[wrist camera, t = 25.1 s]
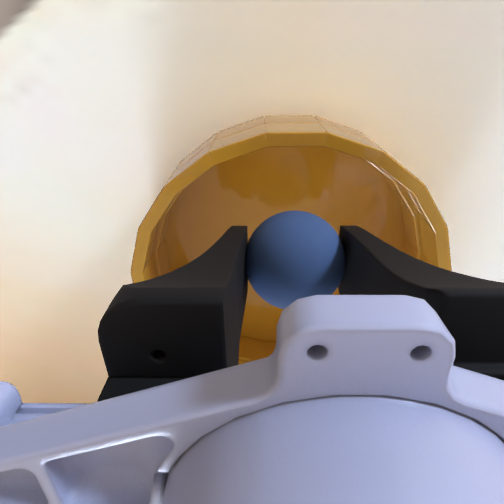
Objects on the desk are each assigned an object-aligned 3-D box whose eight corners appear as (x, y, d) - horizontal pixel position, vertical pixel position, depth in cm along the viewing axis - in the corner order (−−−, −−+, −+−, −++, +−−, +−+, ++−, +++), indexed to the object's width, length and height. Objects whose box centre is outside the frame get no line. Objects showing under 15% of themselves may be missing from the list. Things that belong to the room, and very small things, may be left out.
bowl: (442, 112, 16) (494, 130, 12) (389, 344, 22) (414, 399, 19) (136, 114, 16) (102, 133, 13) (171, 343, 22) (155, 397, 19)
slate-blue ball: (340, 195, 14) (362, 238, 11) (331, 276, 16) (348, 332, 13) (246, 195, 14) (240, 237, 11) (247, 275, 16) (243, 331, 13)
